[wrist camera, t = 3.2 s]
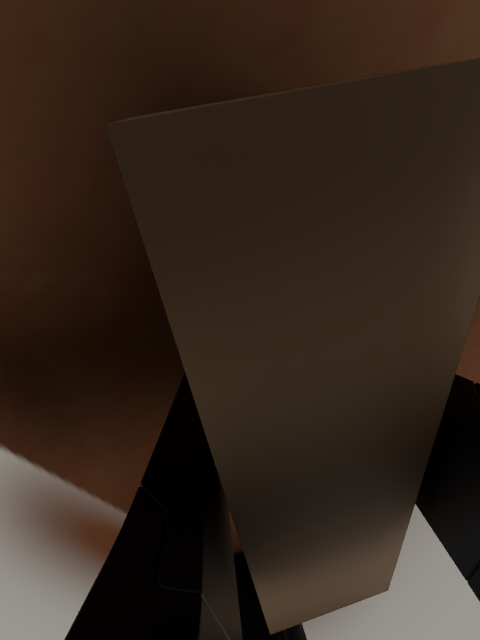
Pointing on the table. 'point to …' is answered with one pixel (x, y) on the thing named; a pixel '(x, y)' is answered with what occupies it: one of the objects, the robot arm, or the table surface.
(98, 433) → the table surface
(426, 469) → the robot arm
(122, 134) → the brown wooden block
